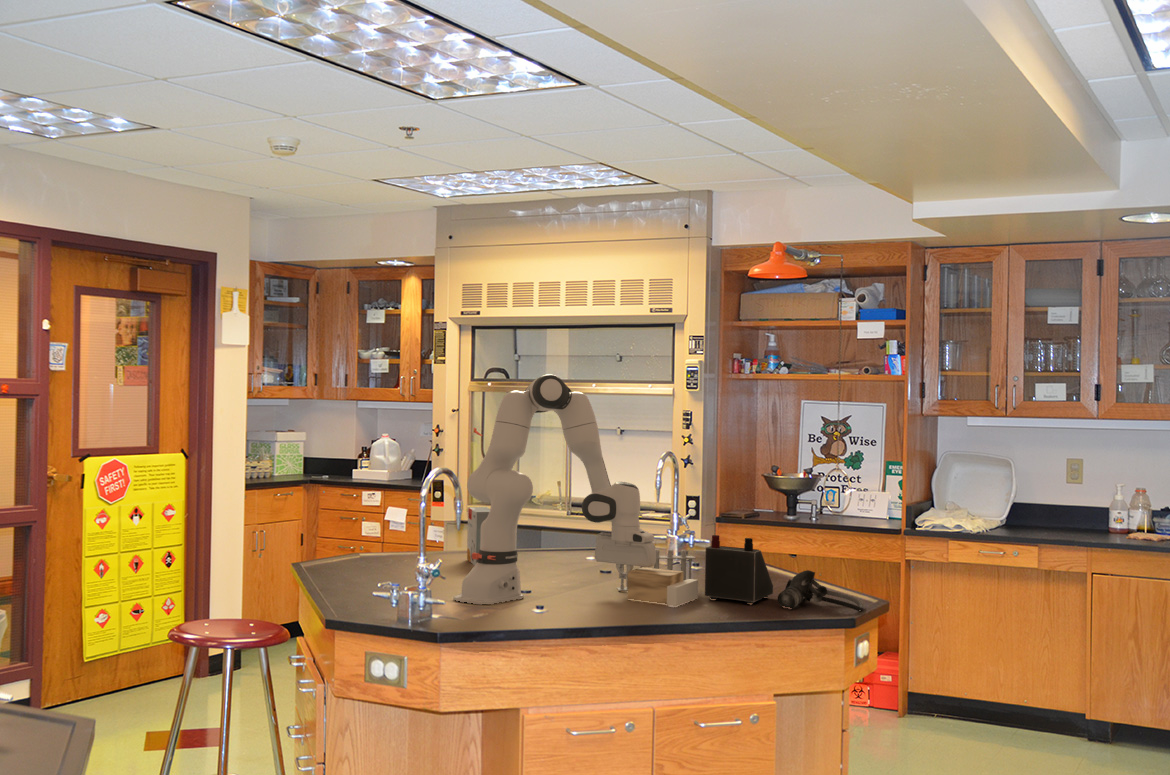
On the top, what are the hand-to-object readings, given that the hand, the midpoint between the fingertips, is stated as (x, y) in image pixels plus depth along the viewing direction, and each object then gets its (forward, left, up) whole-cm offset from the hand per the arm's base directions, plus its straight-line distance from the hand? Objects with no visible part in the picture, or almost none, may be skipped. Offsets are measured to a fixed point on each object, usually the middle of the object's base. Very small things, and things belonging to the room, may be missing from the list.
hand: (624, 578), depth 321 cm
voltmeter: (+17, -32, -6) cm, 36 cm away
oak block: (-1, -11, -6) cm, 12 cm away
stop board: (+1, -20, -5) cm, 20 cm away
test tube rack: (+15, -4, -6) cm, 16 cm away
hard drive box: (+28, +74, -6) cm, 79 cm away
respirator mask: (+20, -57, -6) cm, 60 cm away
